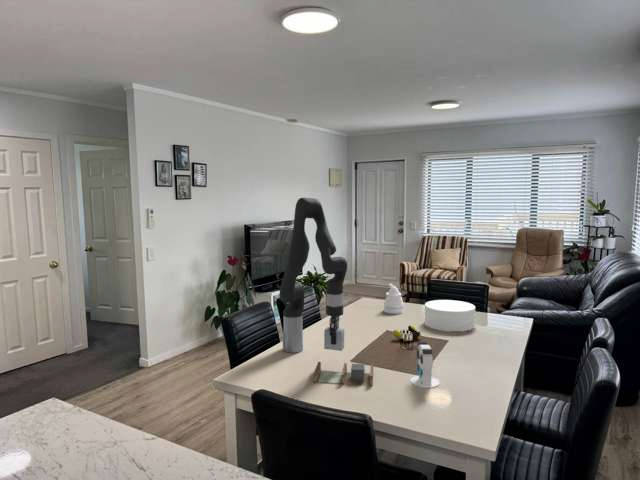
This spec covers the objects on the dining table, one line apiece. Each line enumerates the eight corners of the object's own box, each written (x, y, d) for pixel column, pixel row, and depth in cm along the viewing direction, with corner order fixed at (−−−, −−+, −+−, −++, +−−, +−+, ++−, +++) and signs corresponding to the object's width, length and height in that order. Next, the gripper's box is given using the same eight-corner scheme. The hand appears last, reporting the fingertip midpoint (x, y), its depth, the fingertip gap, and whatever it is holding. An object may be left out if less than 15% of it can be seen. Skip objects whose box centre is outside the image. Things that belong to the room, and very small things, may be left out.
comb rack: (313, 385, 170) (313, 373, 169) (318, 373, 182) (318, 361, 181) (372, 388, 166) (372, 376, 166) (373, 376, 178) (373, 364, 178)
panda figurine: (407, 375, 178) (408, 340, 177) (435, 375, 178) (436, 340, 177) (413, 388, 166) (413, 350, 165) (442, 388, 166) (443, 350, 165)
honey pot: (383, 313, 277) (383, 285, 275) (384, 308, 289) (384, 282, 288) (404, 314, 275) (404, 286, 273) (403, 309, 287) (403, 282, 286)
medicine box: (344, 348, 187) (344, 328, 186) (341, 351, 183) (341, 331, 182) (327, 345, 189) (327, 326, 188) (323, 349, 185) (324, 329, 184)
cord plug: (351, 381, 171) (351, 369, 170) (352, 372, 180) (352, 360, 179) (363, 382, 170) (363, 370, 169) (364, 372, 179) (364, 361, 179)
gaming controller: (391, 339, 225) (405, 344, 217) (391, 329, 225) (405, 333, 217) (410, 334, 234) (425, 338, 226) (410, 324, 234) (425, 328, 226)
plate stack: (479, 322, 255) (480, 303, 254) (468, 334, 232) (468, 314, 231) (433, 315, 270) (433, 297, 269) (417, 327, 247) (418, 307, 246)
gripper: (328, 299, 192) (327, 336, 193) (323, 307, 177) (323, 347, 179) (345, 299, 190) (344, 337, 192) (341, 308, 176) (341, 348, 178)
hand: (334, 342), depth 186 cm, fingers closed on medicine box, 5 cm apart
